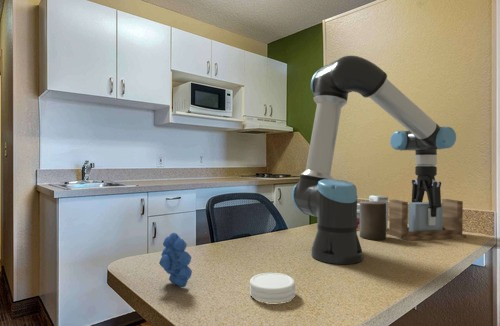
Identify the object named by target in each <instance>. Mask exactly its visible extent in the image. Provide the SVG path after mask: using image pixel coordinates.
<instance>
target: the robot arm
mask: <svg viewBox="0 0 500 326" xmlns="http://www.w3.org/2000/svg"><path fill="white" fill-rule="evenodd" d="M311 77H312V78H311V81H310V90H311V91H312V95H313V101H314V103H315V104H316V109H315V114H314V121H313V124H312V125H313V126H312V131H311V138H310V143H309V149H308V155H307V161H306V165H305V170H304V171H303V172H301V173H300V176H299V181H298V182H297V183H296V184H295V185H294V186H293V187H292V188H293V189H292V191H291V202H292V203H293V206H294V207H295V208H296V209H297V210H298V211H299V212H301V213H303V214H305V215H307V216H312V217H316V219H317V220H316V221H317V224H316V225H317V227H316V228H317V232H316V233H315V237H314V239H313V243H312V246H311V257H312V258H313V259H315V260H316V261H320V262H324V263H328V264H334V265H335V264H336V265H354V264H357V263H358V264H359V263H360V262H362V261H363V259H364V258H363V256H364V255H363V249H362V246H361V243H360V240H359V237H358V233H357V204H358V190H357V186H356V185H355V184H354V183H353V182H351V181H347V180H342V179H341V180H340V179H335V178H333V177H332V175H331V172H332V165H333V160H334V154H335V148H336V141H337V135H338V130H339V124H340V119H341V118H340V117H341V112H342V108H343V107H345V106H346V105H347V103H348V97H349V93H352V92H354V93H358V94H360V95H361V96H362V97H363V98H364V99H365V98H366V99H367V98H369V99H371V100H372V101H373V102H374V103H375V104H376V105H378V106H379V107H380V108H381V109H382V110H384V111H385V112H386V113H387V114H388V115H389V116H391V117H392V118H393V119H394V120H396V121H397V122H398V123H399V124H400V125H401V126H402V127H404V128H405V129H406V130H396V131H394V132H393V133H392V134H391V136H390V140H389V141H390V142H389V143H390V145H391V148H392V149H393V150H395V151H415V158H414V163H415V165H416V166H415V168H414V169H415V171H414V173H415V175H416V176H417V178H416V179H412V180H411V183H412V184H411V185H412V187H411V189H412V190H411V191H412V192H411V203H413V202H423V201H424V196H425V193H426V195H427V196H426V197H427V200H428V201H427V202H429V206H430V207H428V225H436V209H437V208H439V207H441V203H442V197H441V196H442V195H441V187H442V181H437V180H436V178H435V177H436V176H437V174H438V173H437V171H438V169H437V168H438V167H437V166H436V165H437V164H438V163H437V161H438V160H437V155H438V154H437V151H438V150H444V149H451V148H452V147H453V146H454V145H455V144H456V141H457V132H456V131H455V129H454V128H453V127H450V126H440V125H439V124H438V123H436V122H435V121H434V119H432V118H431V117H430V116H429V115H428V114H426V112H424V111H423V110H422V109H421V108H420V107H419V106H418V105H416V103H414V102H413V101H412V100H411V99H410V98H409V97H408V96H407V95H406V94H404V93H403V92H402V91H401V90H400V89H399V88H398V87H397V86H395V85H394V84H393V82H391V81H390V80H389V79H388V74H387V73H386V72H385V71H384V70H383V69H382V68H381V67H379V66H378V65H376V64H375V63H373V62H372V61H370V60H368V59H366V58H364V57H362V56H361V57H360V56H356V55H345V56H342V57H340V58H338V59H337V60H334V61H333V62H330V63H329V64H326V65H323V66H322V67H320V68H319V69H318V70H317V71H316V72H314V74H313V75H312V76H311Z"/></svg>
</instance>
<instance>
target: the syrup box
mask: <svg viewBox="0 0 500 326" xmlns="http://www.w3.org/2000/svg"><path fill="white" fill-rule="evenodd" d="M368 198H369V199H368V201H378V202H385V203H386V231H388V229H389V228H388V225H389V223H388V222H389V215H388V214H389V196H382V195H377V194H374V195H373V194H372V195H369V197H368Z"/></svg>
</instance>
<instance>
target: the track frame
mask: <svg viewBox="0 0 500 326" xmlns="http://www.w3.org/2000/svg"><path fill="white" fill-rule="evenodd" d="M441 203H443V227H442V230H434V231H409V202H408V201H405V200H398V199H389V208H388V214H389V215H388V222H389V223H388V225H389V228H388V229H389V230H386V234H387V235H391V236H394V237H396V238H398V239H401V240H404V241H419V240H420V241H421V240H423V241H424V240H441V239H442V240H443V239H444V240H446V239H467V235H466V234H463V223H464V222H463V217H464V216H463V214H464V212H463V210H464V209H463V208H464V207H463V206H464V205H463V200H458V199H457V200H456V199H449V198H441Z"/></svg>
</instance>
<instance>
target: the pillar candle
mask: <svg viewBox="0 0 500 326" xmlns="http://www.w3.org/2000/svg"><path fill="white" fill-rule="evenodd" d="M359 204H360V231H359V237H360V238H361V239H365V240H371V241H383V240H386V239H387V230H386V203H385V202H378V201H369V200H364V201H359Z"/></svg>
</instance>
